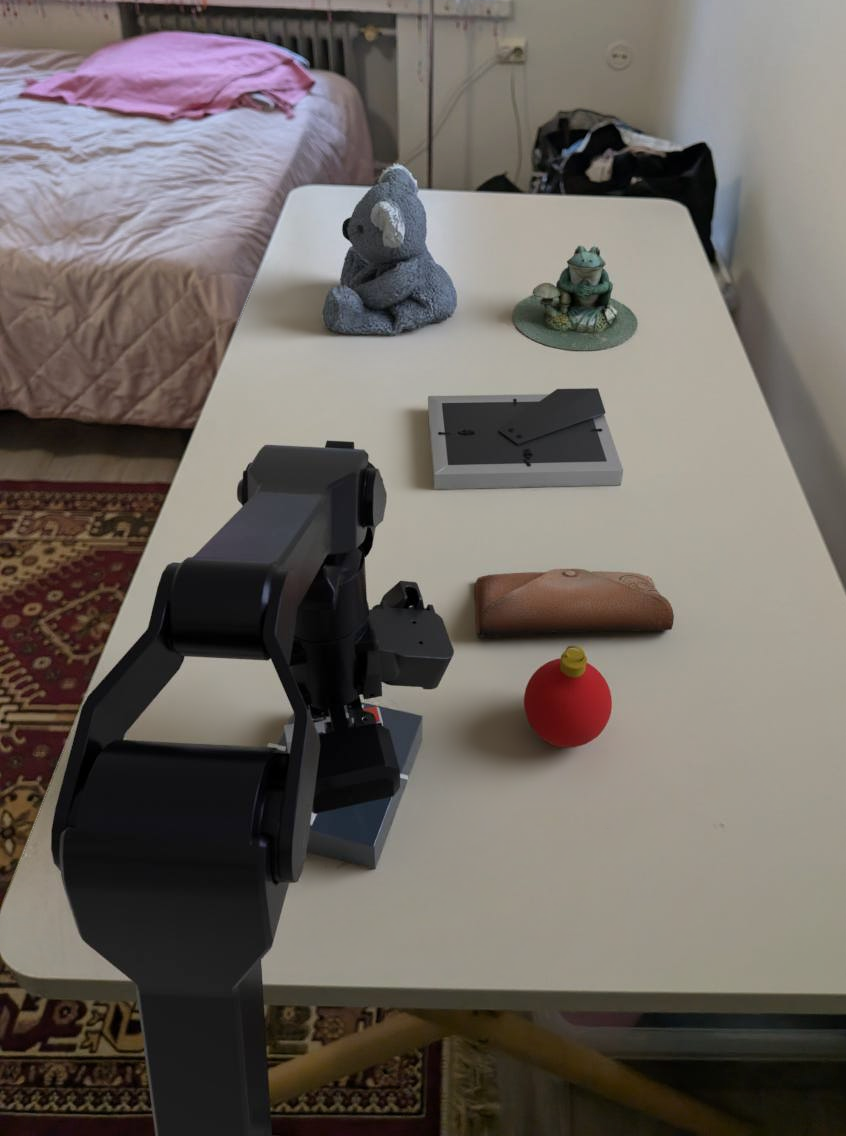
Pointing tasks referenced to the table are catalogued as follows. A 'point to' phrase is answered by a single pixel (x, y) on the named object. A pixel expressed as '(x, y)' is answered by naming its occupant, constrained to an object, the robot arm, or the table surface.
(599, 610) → the sunglasses case
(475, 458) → the picture frame
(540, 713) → the christmas ornament
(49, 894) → the table surface
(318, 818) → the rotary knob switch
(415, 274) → the koala plush
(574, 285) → the frog figurine
